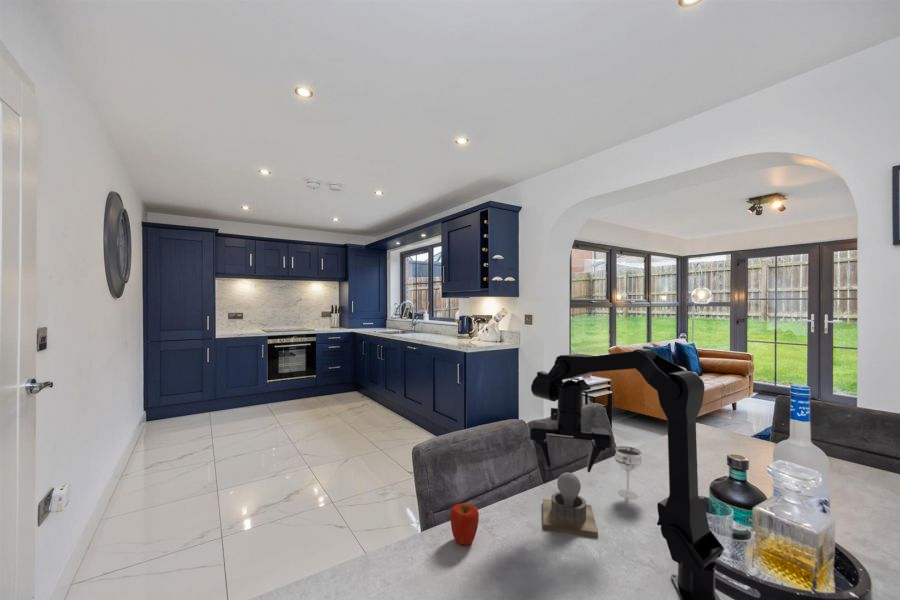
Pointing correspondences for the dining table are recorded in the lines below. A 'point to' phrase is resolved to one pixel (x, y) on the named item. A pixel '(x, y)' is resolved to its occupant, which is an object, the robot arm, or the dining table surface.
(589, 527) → the socket base
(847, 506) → the dining table surface
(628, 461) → the wineglass
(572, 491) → the light bulb
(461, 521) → the apple
